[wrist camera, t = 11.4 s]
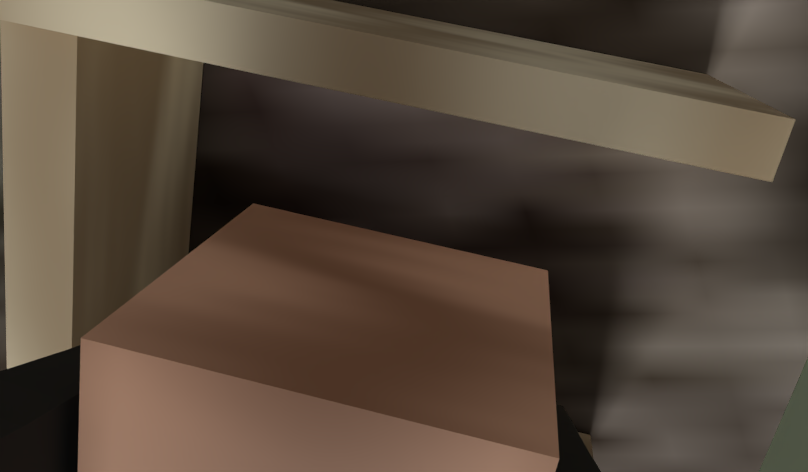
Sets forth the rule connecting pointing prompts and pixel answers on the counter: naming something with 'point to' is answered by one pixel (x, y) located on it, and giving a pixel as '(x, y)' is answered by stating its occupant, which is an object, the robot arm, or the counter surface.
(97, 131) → the cubby
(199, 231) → the counter surface
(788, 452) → the lid
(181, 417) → the block
